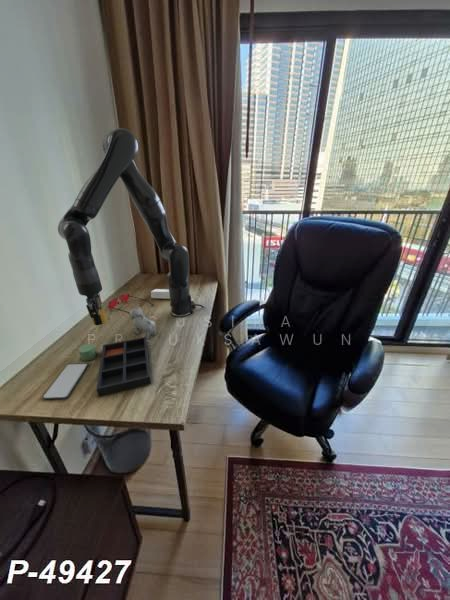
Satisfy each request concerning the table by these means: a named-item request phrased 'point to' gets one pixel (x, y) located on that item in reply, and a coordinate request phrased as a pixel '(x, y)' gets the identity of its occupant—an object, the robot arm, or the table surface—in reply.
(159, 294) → the white box
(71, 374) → the smartphone
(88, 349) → the green short cylinder
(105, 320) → the ochre token
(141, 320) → the dog figurine
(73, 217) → the robot arm
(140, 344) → the grid
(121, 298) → the glasses
